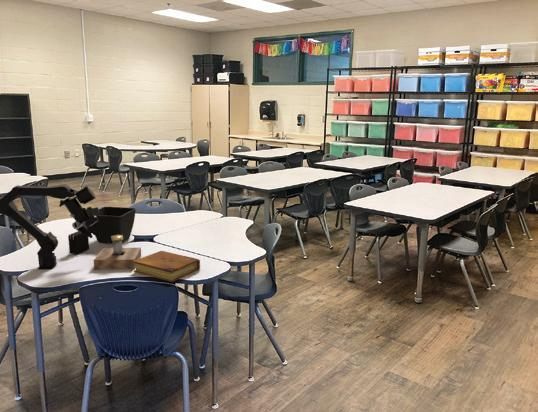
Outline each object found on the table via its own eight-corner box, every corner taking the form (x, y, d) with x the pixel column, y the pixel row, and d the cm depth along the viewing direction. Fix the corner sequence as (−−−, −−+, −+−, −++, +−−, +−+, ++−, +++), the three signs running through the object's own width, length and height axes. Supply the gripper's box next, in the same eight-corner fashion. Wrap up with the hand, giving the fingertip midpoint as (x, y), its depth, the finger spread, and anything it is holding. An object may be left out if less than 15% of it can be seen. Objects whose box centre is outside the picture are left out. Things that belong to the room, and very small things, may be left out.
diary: (200, 270, 212) (200, 258, 211) (172, 283, 196) (171, 270, 195) (163, 261, 223) (162, 249, 222) (133, 272, 208) (133, 260, 206)
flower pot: (122, 246, 243) (120, 215, 239) (89, 244, 246) (86, 213, 242) (137, 236, 261) (136, 208, 258) (106, 235, 264) (104, 206, 261)
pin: (115, 265, 215) (113, 238, 212) (111, 262, 219) (109, 236, 216) (126, 263, 218) (124, 236, 216) (121, 260, 222) (120, 234, 220)
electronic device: (89, 249, 238) (88, 230, 236) (76, 255, 229) (75, 235, 226) (82, 248, 239) (81, 229, 237) (69, 254, 230) (67, 235, 227)
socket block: (94, 269, 209) (93, 260, 208) (103, 256, 227) (103, 248, 226) (134, 268, 211) (134, 259, 210) (141, 256, 228) (140, 247, 228)
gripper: (97, 198, 207) (117, 226, 212) (83, 201, 221) (102, 228, 226) (76, 211, 200) (97, 240, 205) (63, 214, 215) (83, 241, 219)
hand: (95, 237), depth 214 cm, fingers open, 9 cm apart
